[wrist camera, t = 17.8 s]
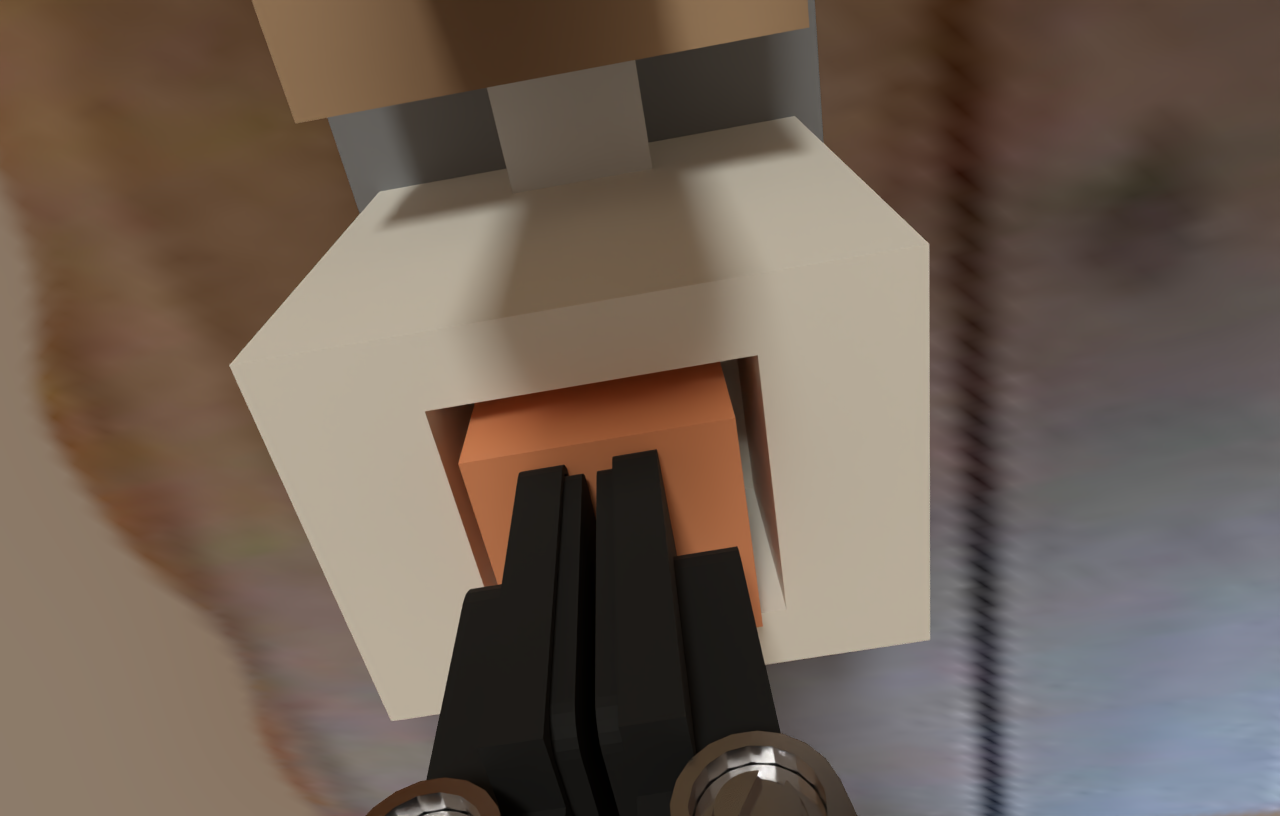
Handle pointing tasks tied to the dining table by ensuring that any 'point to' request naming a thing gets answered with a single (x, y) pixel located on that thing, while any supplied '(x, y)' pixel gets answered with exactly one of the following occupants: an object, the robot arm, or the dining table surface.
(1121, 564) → the dining table surface
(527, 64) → the carriage
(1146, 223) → the dining table surface
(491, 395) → the rail base
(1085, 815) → the dining table surface
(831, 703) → the dining table surface
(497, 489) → the block
